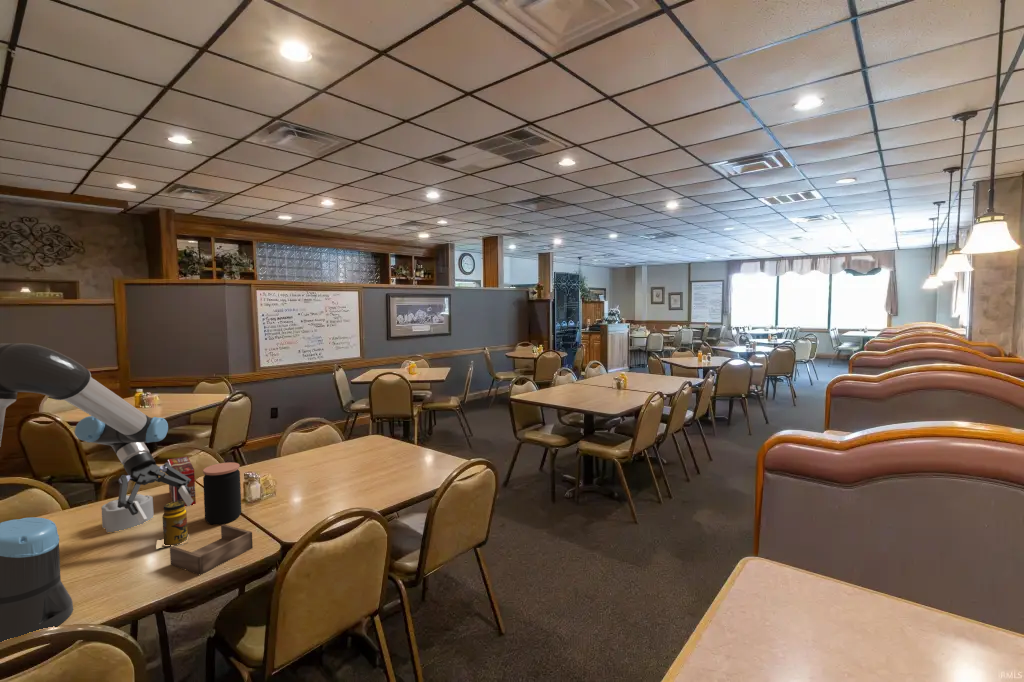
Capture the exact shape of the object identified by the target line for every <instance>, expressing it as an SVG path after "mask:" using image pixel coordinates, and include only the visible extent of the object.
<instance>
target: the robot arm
mask: <svg viewBox="0 0 1024 682" xmlns="http://www.w3.org/2000/svg"><path fill="white" fill-rule="evenodd" d="M18 393H30V394H31V393H34V394H41V395H45V396H47V397H49V398H50V399H52V400H56V401H65V402H66V403H69V404H71V405H73V406H74V407H76V408H78V409H79V410H80V411H82V412H84V413H86V414H88V415H89V416H85V417H83V418H82V419H80V420H79V421H78V423H76V425H75V427H74V435H75V437H76V438H77V439H78V440H80V441H83V442H86V443H92V444H99V445H104V446H110V447H111V448H112V449H113V451H114V453H115V455H116V456H117V458H118V460H119V461H120V463H121V465H123V468H124V470H125V472H126V474H127V475H125V474H122V475H121V476H120V477H119V479H118V484H119V491H118V499H117V500H118V508H121V507H125V508H126V509H129V511H130V513H131V514H132V515H136V517H137V519H138V520H139V522H140V524H142V525H144V524H145V523H144V522H145V521H146V519H147V517H146V515H145V514H144V512H143V510H142V508H141V507H140V505H139V503H138V502H137V501H135V502H134V503H133V501H134V499H135V497H136V495H137V494H138V491H139V490H140V487H141V486H146V485H149V484H152V483H155V482H157V483H163V484H166V485H168V486H169V485H171V486H174V487H177V488H179V490H178V492H179V493H180V495H181V497H182V498H183V500H184V502H185V503H186V505H187V507H191V506H192V505H191V504H192V502H193V499H192V498H191V496H190V495H189V494H190V493H191V492H190V490H189V488H188V487H187V485H188V484H189V482H190V481H191V479H190V478H188V477H187V476H185V475H183V474H182V473H180V472H179V471H177V470H175V469H174V468H172V467H171V466H170V464H169V463H168V462H165V463H164V464H163V465H160V466H159V465H157V462H156V460H155V459H154V456H153V455H152V454H151V453H150V450H149V448H148V447H147V445H146V443H147V444H149V443H156V442H160V441H163V440H164V439H165V438H166V436H167V433H168V432H169V424H168V421H167V420H166V419H165V418H164V417H156V416H153V417H150V416H149V415H146V413H144V412H142V411H141V410H140V409H138V408H136V407H135V406H134V405H132V404H131V403H129V402H128V401H127V400H125V399H124V398H122V397H121V396H119V395H118V394H116V393H115V392H114V391H113V390H110V389H109V388H107V387H106V386H104V385H103V384H102V383H101V382H99V381H97V380H96V379H95V378H93V377H92V374H91V371H90V370H89V369H88V368H86V367H85V366H84V365H82V364H81V363H79V362H78V361H76V360H74V359H73V358H71V357H69V356H68V355H65V354H63V353H61V352H59V351H56V350H54V349H51V348H48V347H46V346H42V345H39V344H35V343H26V342H25V343H24V342H23V343H21V342H19V343H5V342H4V343H0V446H2V437H3V431H4V430H3V429H4V425H5V419H6V417H5V416H6V411H7V410H6V409H7V408H8V407H9V406H11V405H12V404H14V403H15V402H16V401H17V398H18ZM129 481H131V482H133V483H134V484H133V488H132V490H131V492H130V494H129V495H128V496H129V499H128V500H126V495H127V493H128V483H129ZM190 505H191V506H190ZM143 523H144V524H143ZM60 557H61V555H60V535H59V534H58V527H57V524H56V523H55V522H54V521H53V520H51V519H48V518H44V517H32V516H31V517H30V516H29V517H23V518H20V519H17V518H15V519H10V520H5V521H2V522H0V642H2V641H4V640H7V639H10V638H14V637H18V636H21V635H24V634H27V633H29V632H33V631H36V630H39V629H43V628H48V627H53V626H57V627H58V626H60V625H61V624H62V623H64V622H66V620H67V619H69V618H70V616H71V615H72V613H73V610H74V605H73V604H74V603H73V602H74V601H73V598H72V597H71V595H70V593H69V592H68V590H67V588H66V587H65V585H64V584H63V582H62V580H61V579H62V578H61V558H60Z"/></svg>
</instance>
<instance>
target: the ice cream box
mask: <svg viewBox="0 0 1024 682" xmlns="http://www.w3.org/2000/svg"><path fill="white" fill-rule="evenodd" d="M167 463H169V464H170V466H171V467H172V468H174V469H175V470H177V471H179V472H180V473H182V474H183V475H185V476H187V477H188V478H190V479H191V481H190V482H189V484H188V485H187V487H188V488H189V490H190V492H191V493H190V494H189V495H190V496H191V498H192V499H193V502H192V504H191V506H194V505H193V504H196V505H197V500H196V483H195V482H196V479H195V478H196V477H195V468H194V466H193V464H192V462H191V460H190V458H189V457H188V456H187V455H186V456H182V457H176V458H175V457H174V458H170V459H167ZM178 490H179V488H177V487H174V486H171V485H168V491H169V496H170V500H171V499H172V500H171V502H175V501H183V502H184V500H183V498H182V497H181V495H180V493H179V492H178ZM184 503H185V502H184ZM185 506H187V505H186V503H185ZM187 507H188V506H187Z"/></svg>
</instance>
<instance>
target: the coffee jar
mask: <svg viewBox="0 0 1024 682" xmlns="http://www.w3.org/2000/svg"><path fill="white" fill-rule="evenodd" d="M202 473H203V475H204V476H203V478H202V480H203V481H202V482H203V483H202V484H203V504H204V507H203V508H204V520H205V522H207V524H209V523H210V525H213V524H219V525H223V524H224V523H225V524H228V523H231V522H233V521H235V520H237V519H238V518H239V517H240V516H241V513H242V493H241V491H242V489H241V472H240V464H239V463H238V462H233V461H232V462H231V461H230V462H220V463H216V464H211V465H208V466H206V467H204V468H203V470H202Z"/></svg>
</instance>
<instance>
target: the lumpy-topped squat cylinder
mask: <svg viewBox="0 0 1024 682" xmlns="http://www.w3.org/2000/svg"><path fill="white" fill-rule="evenodd" d="M129 496H130V495H127V494H126V500H128V499H129ZM135 501H137V502H138V503H139V505H140V507H141V508H142V510H143V512H144V514H145V515H146V517H147V519H146V521H148V520H150V519H151V518H154V517H153V516H154V515H155V514H154V499H153V496H152V495H149V494H146V495H144V494H141V493H139V494H138V493H137V494H136V497H135V499H134V501H133V503H134V502H135ZM151 520H152V519H151ZM151 520H150V521H151ZM146 521H145V522H146ZM148 522H149V521H148ZM101 523H102V525H101V526H102V527H101V528H102V529H103V528H105V529H106V530H105V529H104V530H105V532H106V533H108V532H114V531H119V530H123V531H125V530H124V529H127V528H130V529H132V528H131V527H134V526H137V525H140V522H139V520H138V519H137V517H136V515H132V514H131V513H130V511H129V509H126V508H125V507H121V508H118V499H115V500H110V501H108V502H107V503H105V504H103V505H102V506H101ZM146 523H147V522H146ZM140 526H141V525H140ZM137 527H138V526H137ZM134 528H135V527H134ZM127 530H128V529H127ZM119 532H120V531H119ZM114 533H115V532H114Z"/></svg>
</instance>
